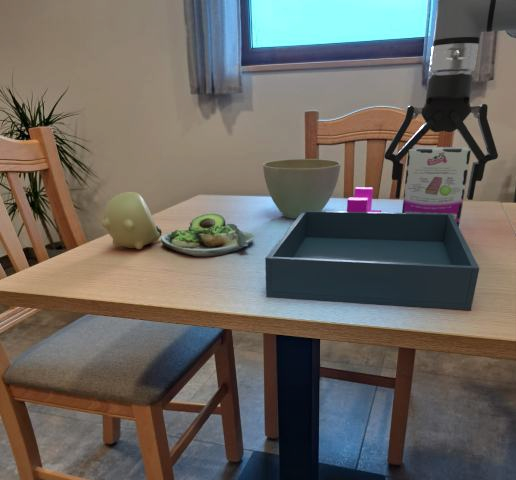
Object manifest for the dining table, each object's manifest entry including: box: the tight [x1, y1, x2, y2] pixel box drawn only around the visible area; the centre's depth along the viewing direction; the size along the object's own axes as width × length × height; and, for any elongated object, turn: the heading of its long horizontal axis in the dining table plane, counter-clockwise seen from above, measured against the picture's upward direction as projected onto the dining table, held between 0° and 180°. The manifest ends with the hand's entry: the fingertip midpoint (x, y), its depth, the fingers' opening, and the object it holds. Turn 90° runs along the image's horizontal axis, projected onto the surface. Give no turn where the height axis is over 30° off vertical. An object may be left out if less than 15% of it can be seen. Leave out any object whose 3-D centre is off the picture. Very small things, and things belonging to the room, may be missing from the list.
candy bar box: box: [401, 146, 472, 228], centre depth 91 cm, size 11×5×16 cm, turn 67°
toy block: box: [346, 186, 382, 213], centre depth 98 cm, size 15×6×8 cm, turn 163°
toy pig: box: [101, 191, 163, 250], centre depth 91 cm, size 10×12×11 cm
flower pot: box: [262, 158, 341, 220], centre depth 111 cm, size 18×18×12 cm
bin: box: [264, 210, 480, 311], centre depth 76 cm, size 28×32×6 cm
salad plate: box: [160, 213, 255, 257], centre depth 91 cm, size 19×18×5 cm
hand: (432, 198), depth 92 cm, fingers open, 13 cm apart
